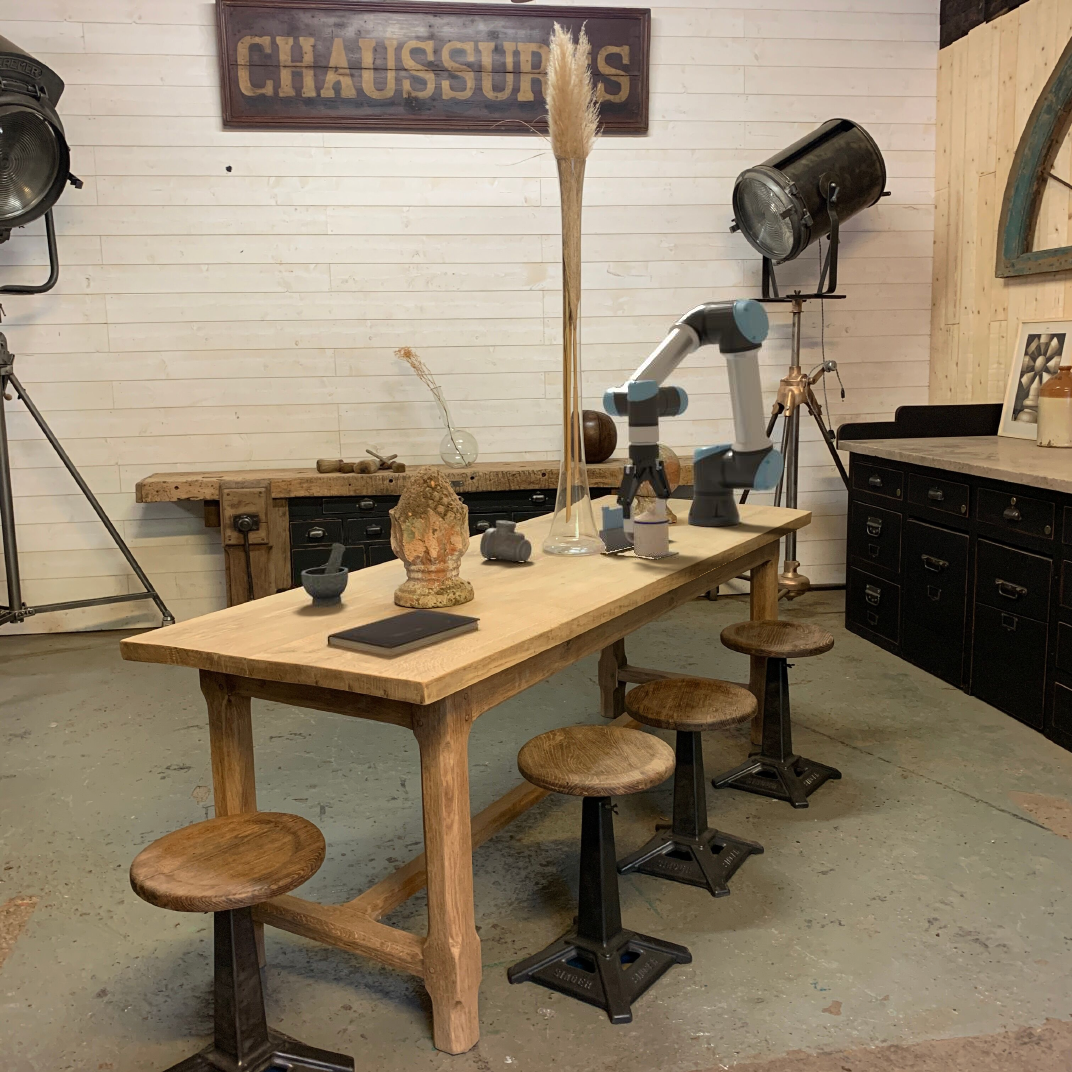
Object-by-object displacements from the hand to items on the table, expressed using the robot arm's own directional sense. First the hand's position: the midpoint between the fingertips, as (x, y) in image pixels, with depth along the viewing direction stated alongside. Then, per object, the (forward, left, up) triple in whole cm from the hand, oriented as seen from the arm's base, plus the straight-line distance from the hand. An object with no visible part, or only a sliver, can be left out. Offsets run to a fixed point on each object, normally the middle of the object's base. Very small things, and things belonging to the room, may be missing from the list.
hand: (645, 528), depth 259 cm
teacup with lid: (0, 0, -7) cm, 7 cm away
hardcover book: (+89, +10, -8) cm, 90 cm away
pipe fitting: (+25, -24, -7) cm, 35 cm away
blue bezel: (0, -10, -1) cm, 10 cm away
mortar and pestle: (+80, -24, -7) cm, 84 cm away
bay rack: (-8, -2, -7) cm, 11 cm away
